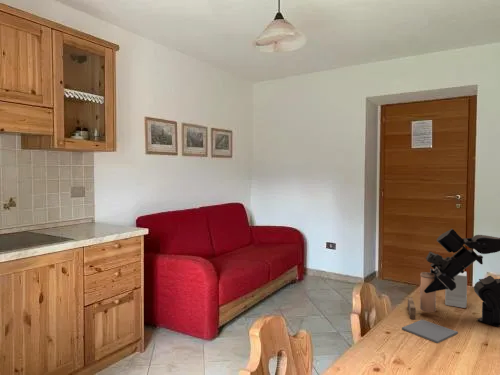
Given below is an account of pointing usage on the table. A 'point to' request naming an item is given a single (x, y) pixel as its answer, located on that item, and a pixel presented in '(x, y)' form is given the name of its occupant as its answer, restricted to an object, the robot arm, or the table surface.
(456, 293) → the supplement box
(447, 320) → the table surface
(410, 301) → the walnut rail
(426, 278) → the terracotta jar
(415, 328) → the dark grey mat
